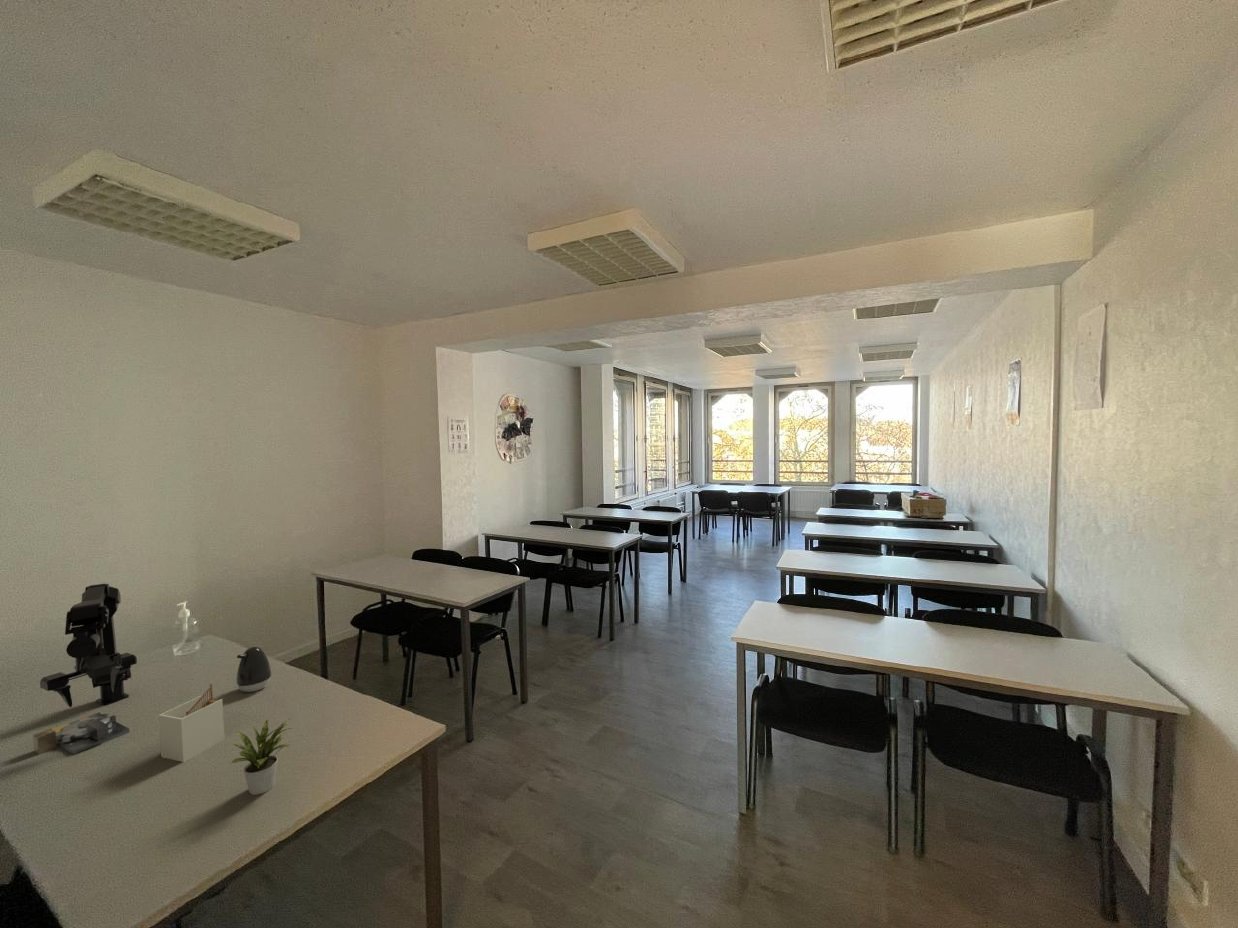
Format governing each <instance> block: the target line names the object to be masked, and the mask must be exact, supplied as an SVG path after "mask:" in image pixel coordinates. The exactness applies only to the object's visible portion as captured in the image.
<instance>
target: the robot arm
mask: <svg viewBox="0 0 1238 928" xmlns="http://www.w3.org/2000/svg"><path fill="white" fill-rule="evenodd" d="M121 597H122V596H121V592H120V590H119V588H117V587H113V586H110V584H109V583H99V584H91V585H88V586H85V590H84V592H83V593H82V594H81V602H79V603H76V604H73V605H72V607H70V610H69V611H67V612H66V618H65V619H66V620H65V628H64V629H65V631H64V634H65V635H71V634H72V638H71V641H70V642H69V643H68V645H66V650H65V651H66V654H67V655H68V656H69V657H71V658H73V659H74V661H75V665H74V670H75V671H72V672H69V673H63V672H61V671H60V672H57V673H54V674H49V675H47V676H43V677H42V678H41V679H40V681H39V685H40V688H41V689H43V690H45V691H47V692H50V691H53V693H55V692H57V693H58V694H59V695H60V697H61V698H62V700H63V701H64V702H65V704H66V705H67V706H68V707H69V708H72V707H73V699H72V694H71V685H70V684H69V683H70V682H69V681H71V680H74V679H79V678H81V677H84V676H88V678H90V679H91V683H92V688H94V689H96V688H98V687H99V693H100V694H99V696H100V698H97V699H96V700H95V702H97V703H98V704H101V705H103V706H106V705H109V704H112V703H114V702H117V701H119V700H122V699H125V698H128V697H130V694H128V693H126V692H125V685H124V684H125V683H124V681H128V680H129V679H131V678H132V671H131V668H132V666H133V665H136V664H137V663H138V659H137V656H136V655H135V654H132V653H128V652H124V653H120V652H118V651H117V642H116V641H117V640H116V639H117V638H116V632H115V624H114V623H115V621H114V615H115V614H116V612H117V610H118V608H119V604H121V601H122V600H121Z"/></svg>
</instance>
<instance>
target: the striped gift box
mask: <svg viewBox="0 0 1238 928" xmlns="http://www.w3.org/2000/svg"><path fill="white" fill-rule="evenodd" d="M53 729H54V728H48V729H45V730H42V731H40V732H37V733H34V734H33V735H32V741H33V752H34V753H35V754H37V755H39V756H40V755H42V754H45V753H47V752H50V751H52V750H55V749H57V747H58V746H57V745H58V744H56V732H55V731H54V730H53Z"/></svg>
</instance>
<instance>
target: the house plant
mask: <svg viewBox="0 0 1238 928" xmlns="http://www.w3.org/2000/svg"><path fill="white" fill-rule="evenodd" d="M291 719H292V718H291V717H290V718H288V719H287V720H285V721H284V722H282V723H281V724H280V725H279V726H278V727H277V728H275V729H273V730H272V731H270V732H269V730H270V729H269V719H266V720H265V722H264V724H263V726H262V728H261V732H260V734H259V732H258V730H257V728H256V727H255V726H252V727H253V731H254V733H255V738H254V740H256V744H257V748H258V749H257V750H256V749H255V747H254V745H253V743H252V741H251V739H250V737H249V736H248V735H247V734H245V733H242V732H240V731H236V730H235V733H236V734H237V735H238V736H239V737H240V739H241V741H242V742H243V744H244V746H243V745H241V744H238V743H232V745H233V746H235V747H238V748H239V749H241V750H242V751H239V755H240V756H241V757H237V758H235V759H233V760H231V762H230V763H229V765H231V764H235V763H236V764H237V763H240V762H245V761H246V762H248V763H247V764H246V765H244V768H243V774H244V777H245V781H246V785H247V788H248V792H249V793H250V795H254V796H257V795H261V794H264V793H266V792H268V791H270V790H272V788H273V787H275V784H276V777H277V776H276V775H277V769H278V763H279V762H278V761H279V758H278V756H277V755H276V754H277V753H278V752H279V751H280V750H282V749H283V748H287V747H288V748H290V744H284V743H283V744H279V743H280V742H281V741H282V740H283V737H282V736H284V733H283V732H285V731H287V730H291V729H293V727H288V728H284V727H285V726H287V725H288V724H286V723H288V722H289V721H290V720H291ZM271 734H272V735H271ZM279 734H280V735H279ZM270 735H271V736H270ZM278 735H279V736H278ZM269 736H270V738H269V739H267V738H268V737H269ZM275 750H277V751H276V752H275V753H274V754H272V753H273V752H274V751H275Z"/></svg>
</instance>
